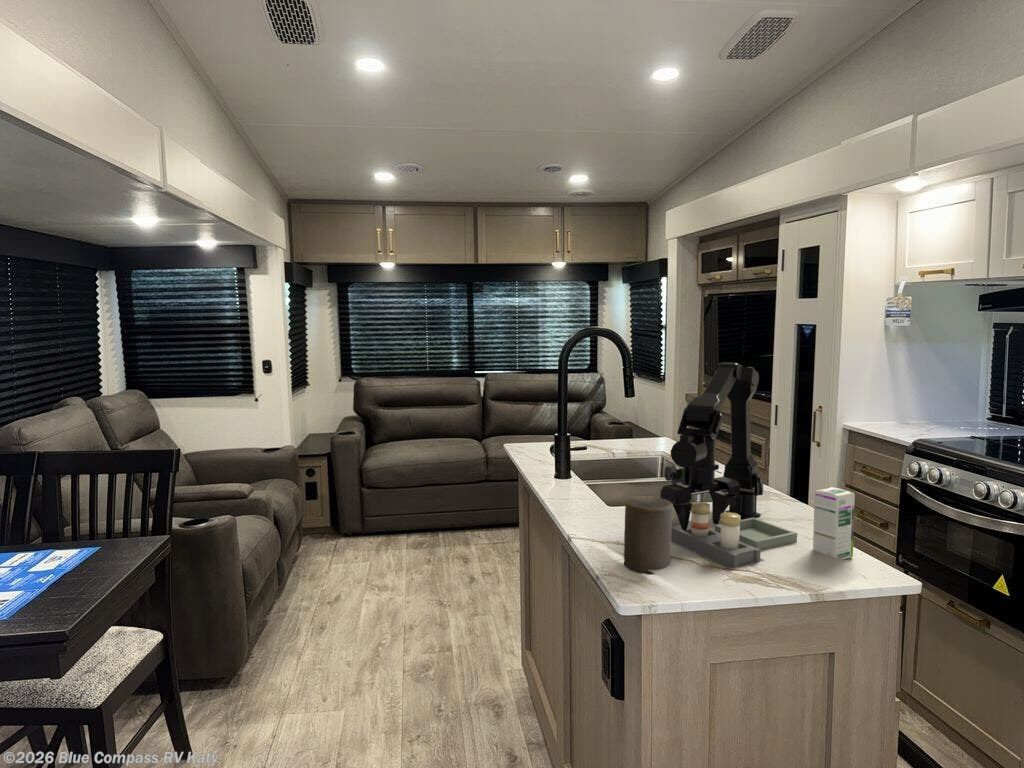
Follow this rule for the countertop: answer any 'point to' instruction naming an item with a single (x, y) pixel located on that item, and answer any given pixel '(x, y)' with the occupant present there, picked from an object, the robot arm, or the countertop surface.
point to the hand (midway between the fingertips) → (699, 526)
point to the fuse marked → (700, 519)
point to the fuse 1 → (674, 517)
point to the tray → (762, 534)
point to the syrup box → (834, 522)
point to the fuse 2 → (729, 531)
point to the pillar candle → (647, 533)
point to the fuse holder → (715, 548)
